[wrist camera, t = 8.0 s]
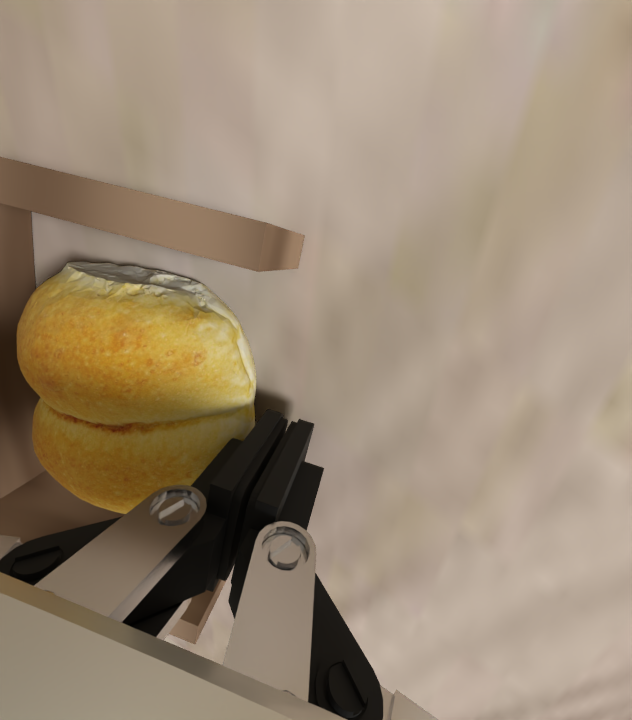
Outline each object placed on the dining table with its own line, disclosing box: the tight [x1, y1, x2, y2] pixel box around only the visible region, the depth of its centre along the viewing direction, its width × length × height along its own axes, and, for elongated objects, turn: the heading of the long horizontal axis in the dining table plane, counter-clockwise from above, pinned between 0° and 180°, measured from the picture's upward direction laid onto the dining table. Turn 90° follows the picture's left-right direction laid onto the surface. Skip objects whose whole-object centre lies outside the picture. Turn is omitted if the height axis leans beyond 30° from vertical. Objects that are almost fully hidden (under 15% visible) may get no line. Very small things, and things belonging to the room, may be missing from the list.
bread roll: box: [17, 262, 256, 514], centre depth 11 cm, size 8×9×4 cm
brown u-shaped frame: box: [0, 157, 305, 644], centre depth 11 cm, size 11×14×4 cm
